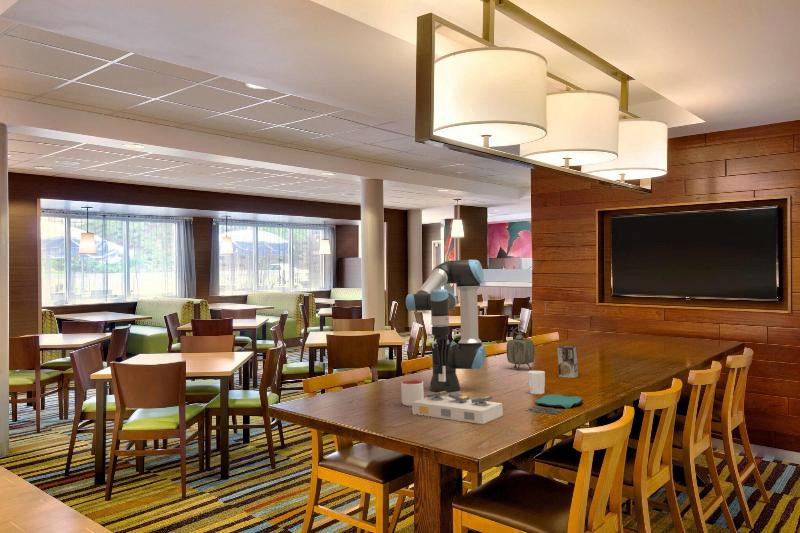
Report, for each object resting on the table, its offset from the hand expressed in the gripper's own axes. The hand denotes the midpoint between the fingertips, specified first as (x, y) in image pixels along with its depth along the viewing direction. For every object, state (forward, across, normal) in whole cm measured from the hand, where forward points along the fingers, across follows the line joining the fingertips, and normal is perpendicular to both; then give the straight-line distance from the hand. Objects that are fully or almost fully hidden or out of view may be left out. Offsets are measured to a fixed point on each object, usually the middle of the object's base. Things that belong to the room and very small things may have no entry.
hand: (442, 381), depth 259 cm
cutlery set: (+13, +32, -36) cm, 50 cm away
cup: (+13, +5, +20) cm, 25 cm away
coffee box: (+12, +100, -14) cm, 102 cm away
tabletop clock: (+12, +109, +19) cm, 112 cm away
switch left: (+6, 0, +3) cm, 7 cm away
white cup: (+13, +53, -18) cm, 58 cm away
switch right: (+6, 0, -19) cm, 20 cm away
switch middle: (+6, 0, -8) cm, 10 cm away
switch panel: (+13, -2, -8) cm, 15 cm away
